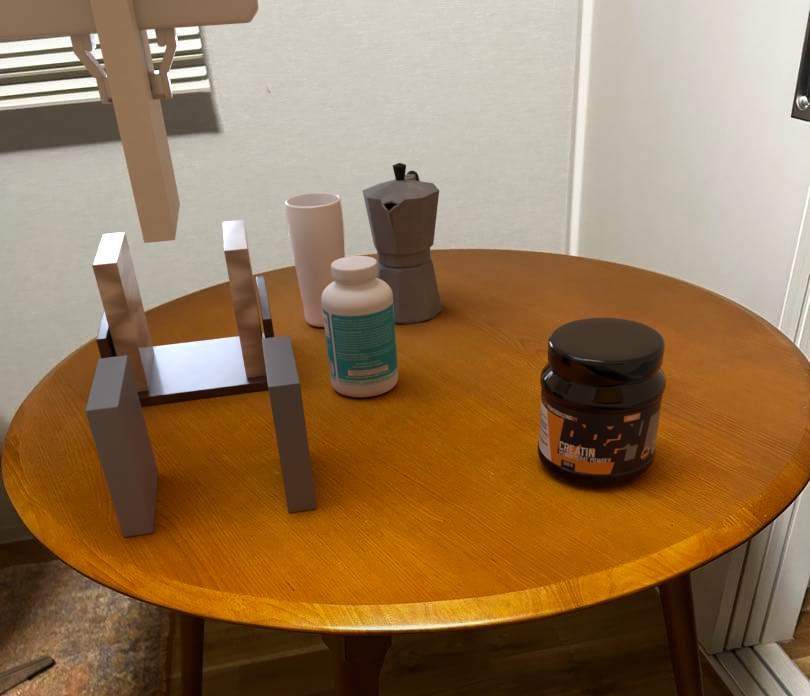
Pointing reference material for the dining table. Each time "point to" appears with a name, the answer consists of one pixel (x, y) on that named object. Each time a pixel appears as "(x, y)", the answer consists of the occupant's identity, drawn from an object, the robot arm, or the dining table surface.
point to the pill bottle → (360, 329)
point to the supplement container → (601, 401)
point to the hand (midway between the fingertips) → (137, 100)
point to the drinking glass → (315, 246)
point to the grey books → (132, 452)
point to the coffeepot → (405, 242)
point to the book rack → (193, 361)
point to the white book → (138, 118)
